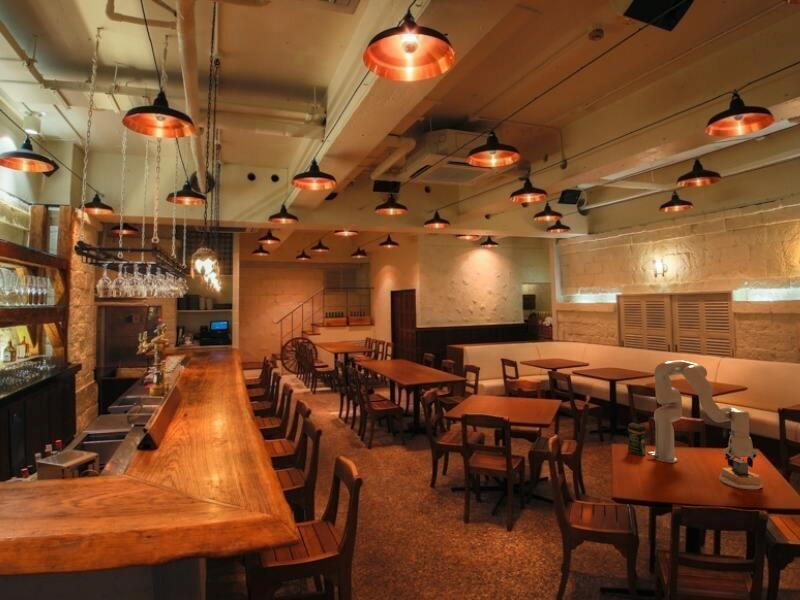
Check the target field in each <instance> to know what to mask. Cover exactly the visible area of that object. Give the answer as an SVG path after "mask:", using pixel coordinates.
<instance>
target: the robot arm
mask: <svg viewBox="0 0 800 600" xmlns="http://www.w3.org/2000/svg"><path fill="white" fill-rule="evenodd" d="M679 375H681V376H683V377H684V379H685V380H686V382H687V383H688V384H689V385H690V386H691V388H692V389H693V390H694V391H695V393H696V394H697V396H698V400H699V403H700V407H702V410H703V411H704V412H705V413H706V415H707V416H708V417H709V418H710V420H712V421H714V422H716V423H724V422H729V421H730V423H731V424H730V425H731V427H730V431H729V432H728V434H729V435H730V436H729V439H728V445H727V446H728V447H726V448H724V449H722V452H723V453H722V454H723V455H724V456H726V457H727V458H728V459H727V465H728V466H729V467H730V468H732V467H733V457H734V456H736V457H742V458H746V462H747V463H748V467H749V468H753V465H754V460H755V458H756V457H757V455H758V453H759V450H757V449H755V448H754V446H753V445H754V444H753V441H752V438H751V436H750V413H749V412H748V411H747V410H744V409H737V408H734V407H731V406H727V405H726V406H720V407H719V406H718V405H717V403H716V401H715V400H714V398H713V391H714V386H713V385H712V384H711V383H710V381H709V380H708V379H707V378H706V377H707V376H708V371H707V369H706V368H705V367H704V366H703V365H702V364H697V363H694V362H690V361H685V360H679V359H677V360H670V361H669V360H668V361H663V362H660V363H659V364H657V366H656V367H655V368H654V381H655V383H654V384H655V387H654V388H655V389H654V390H655V399H656V401H657V403H658V404H660V405H664V406H660V407H658V408H657V409H655V410H654V413H653V419H654V423H655V449H654V450H653V451H647V452H646V453H647V455H648V456H651V457H652V458H653V459H654V460H655V459H656V460H655V461H658V462H662V463H667V464H668V463H671V464H673V463H677V462H678V458H677V457H676V456H675V430H674V426H673V423H674V422H677V421H679V420H680V419H681V418H682V416H683V399H682V394H681V392H680V391H679V389H677V388H675V387H672V380H671V378H670V377H671V376H679ZM736 457H734V458H736Z"/></svg>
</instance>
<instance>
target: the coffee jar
mask: <svg viewBox="0 0 800 600" xmlns="http://www.w3.org/2000/svg"><path fill="white" fill-rule="evenodd" d="M627 432H628V446H627V452H628V451H629V452H628V453H630V452H631V453H630V454H632V453H633V454H632V455H635V454H636V456H644V454H645V455H646V453H647V451H646V440H645V439H646V436H645V435H646V432H647V431H646V426H645V425H643V424H640V423H639V424H638V423H634V422H629V423H628V427H627Z"/></svg>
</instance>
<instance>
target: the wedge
mask: <svg viewBox="0 0 800 600" xmlns="http://www.w3.org/2000/svg"><path fill="white" fill-rule="evenodd" d="M731 468H732V471H733V472H735V473H737V474H738V475H748V471H749V466H748V463H747V461H745V460H744V461H743V460H741V459H739V458H735V459H733V467H731Z"/></svg>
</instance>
